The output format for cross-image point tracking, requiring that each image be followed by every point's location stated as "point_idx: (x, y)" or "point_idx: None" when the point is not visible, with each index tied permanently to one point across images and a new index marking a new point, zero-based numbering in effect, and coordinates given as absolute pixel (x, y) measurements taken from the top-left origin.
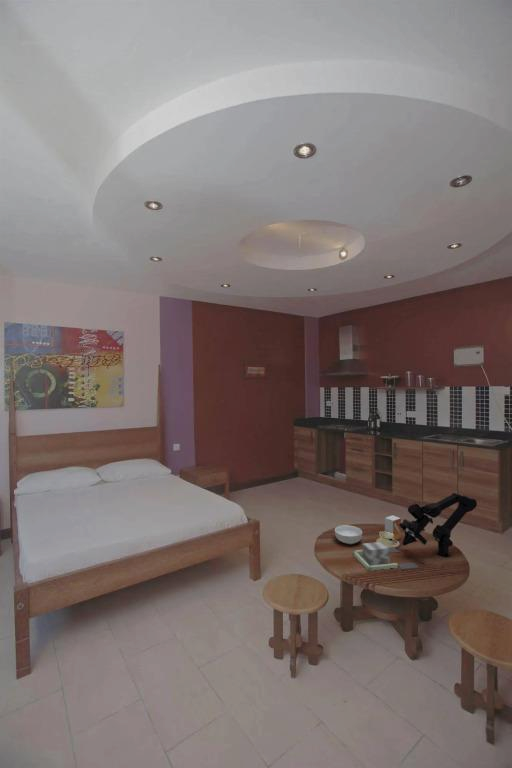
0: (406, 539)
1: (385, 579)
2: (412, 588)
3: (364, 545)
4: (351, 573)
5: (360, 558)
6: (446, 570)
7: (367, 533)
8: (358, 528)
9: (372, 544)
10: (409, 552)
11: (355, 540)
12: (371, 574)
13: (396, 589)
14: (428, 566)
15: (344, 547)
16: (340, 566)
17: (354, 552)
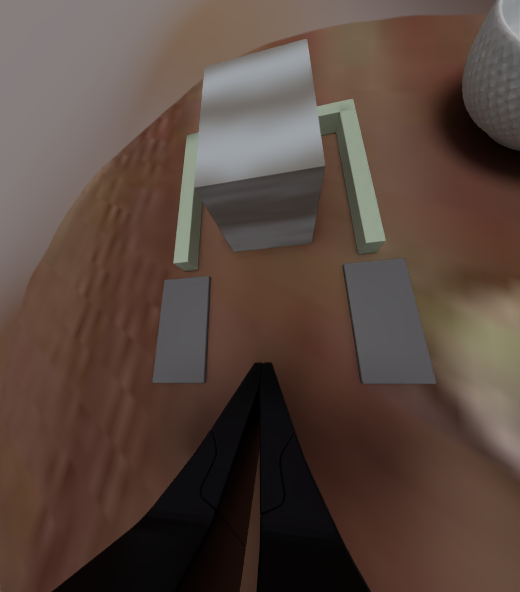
0: (223, 435)
1: (131, 190)
2: (55, 256)
3: (275, 47)
4: (198, 100)
5: None
6: (79, 555)
7: None
8: None
9: (283, 91)
10: (354, 467)
11: (475, 91)
12: (173, 155)
13: (74, 203)
14: (151, 460)
15: (431, 96)
16: None
17: (331, 103)
